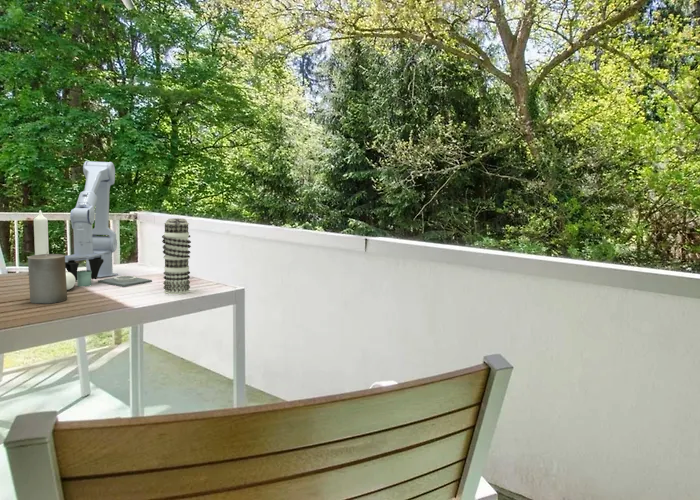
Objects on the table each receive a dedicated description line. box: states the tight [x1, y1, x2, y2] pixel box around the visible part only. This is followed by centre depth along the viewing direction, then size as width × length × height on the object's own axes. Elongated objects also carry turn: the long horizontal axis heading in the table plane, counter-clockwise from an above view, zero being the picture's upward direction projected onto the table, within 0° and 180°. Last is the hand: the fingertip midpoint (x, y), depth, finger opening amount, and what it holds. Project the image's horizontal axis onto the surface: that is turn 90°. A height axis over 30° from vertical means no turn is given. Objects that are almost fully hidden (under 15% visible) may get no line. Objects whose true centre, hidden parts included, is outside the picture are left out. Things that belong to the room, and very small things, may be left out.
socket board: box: [97, 275, 153, 288], centre depth 183 cm, size 14×12×2 cm
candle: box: [33, 209, 50, 255], centre depth 189 cm, size 7×7×25 cm
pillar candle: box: [27, 252, 68, 304], centre depth 150 cm, size 10×10×15 cm
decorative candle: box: [161, 217, 192, 295], centre depth 168 cm, size 9×9×25 cm
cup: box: [76, 269, 92, 287], centre depth 174 cm, size 5×5×5 cm
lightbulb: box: [66, 270, 77, 291], centre depth 163 cm, size 6×6×11 cm
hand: (84, 280), depth 174 cm, fingers open, 7 cm apart
